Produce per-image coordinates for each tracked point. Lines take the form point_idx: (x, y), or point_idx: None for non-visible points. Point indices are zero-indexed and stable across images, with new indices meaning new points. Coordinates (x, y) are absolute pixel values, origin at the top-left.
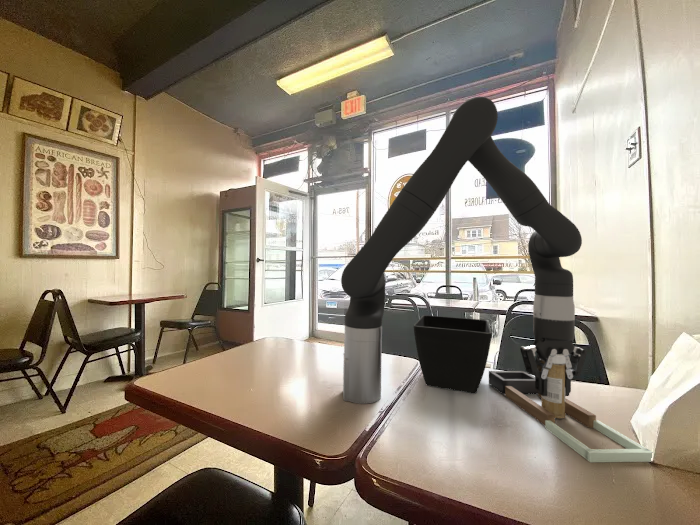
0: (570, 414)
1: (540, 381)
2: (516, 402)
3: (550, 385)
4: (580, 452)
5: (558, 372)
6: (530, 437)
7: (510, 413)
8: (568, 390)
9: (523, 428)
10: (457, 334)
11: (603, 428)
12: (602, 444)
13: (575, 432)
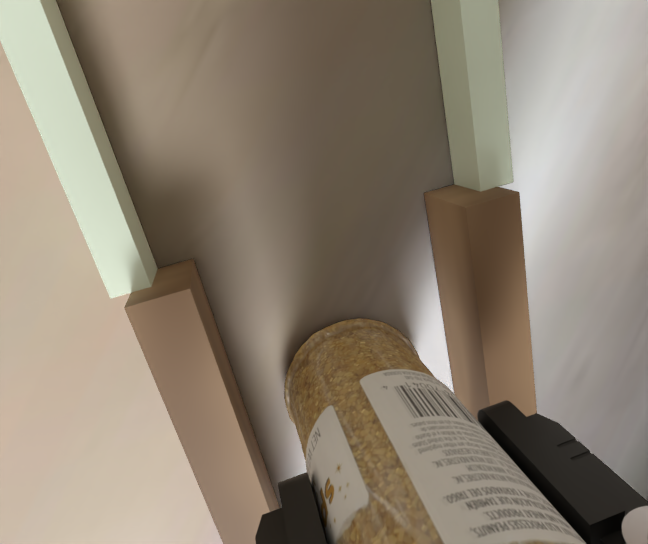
0: (242, 401)
1: (621, 492)
2: None
3: (519, 471)
4: None
5: None
6: (629, 25)
7: (587, 317)
8: (293, 516)
9: (610, 138)
10: None
11: (121, 195)
12: (212, 24)
13: (318, 166)
